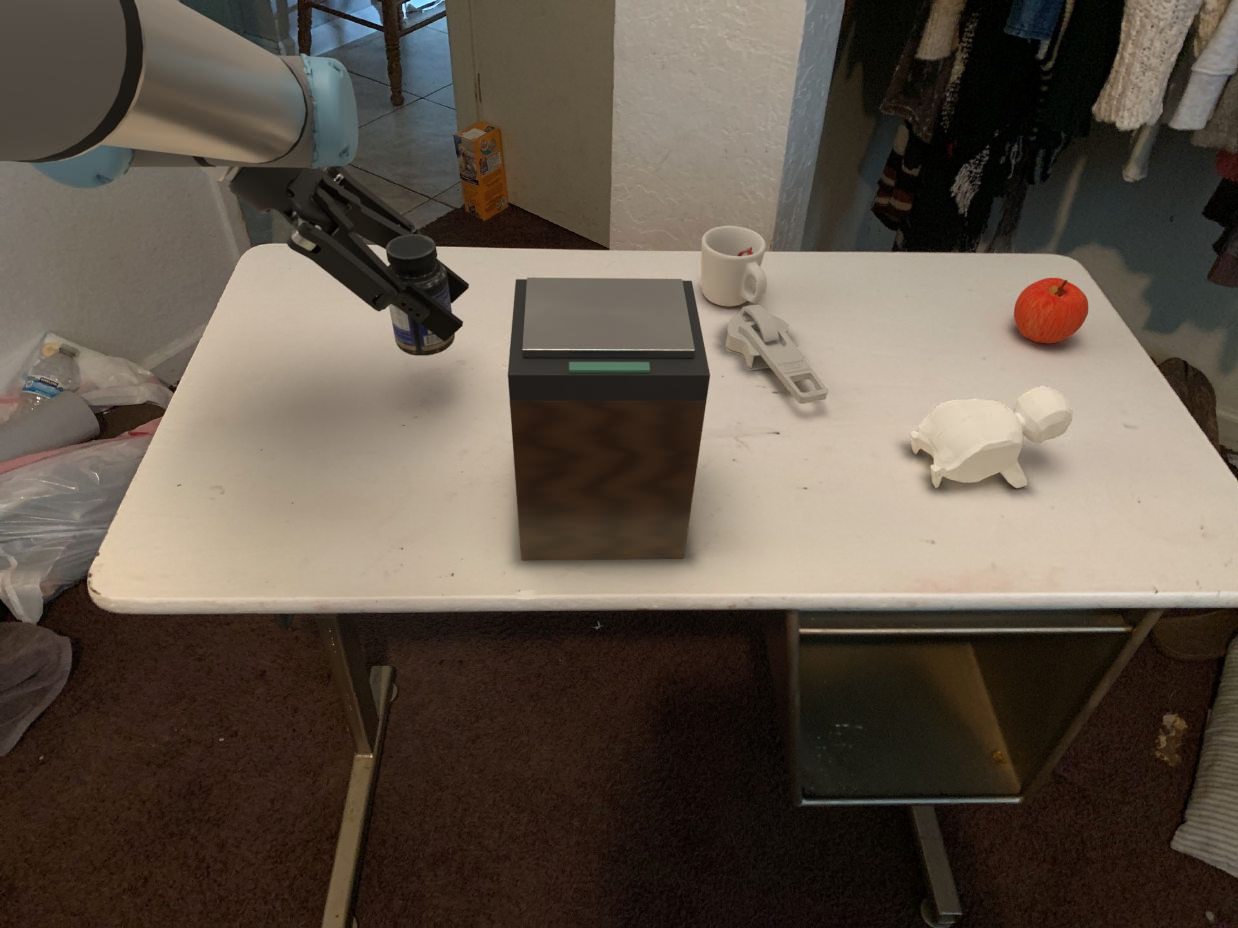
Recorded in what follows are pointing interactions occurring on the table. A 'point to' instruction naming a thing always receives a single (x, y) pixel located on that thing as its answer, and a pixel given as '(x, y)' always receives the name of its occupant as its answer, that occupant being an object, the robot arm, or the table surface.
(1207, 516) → the table surface
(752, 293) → the cup
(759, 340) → the zipper pull
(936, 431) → the white turtle figurine
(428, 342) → the pill bottle
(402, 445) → the table surface
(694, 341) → the scale
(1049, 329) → the apple
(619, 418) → the stand
